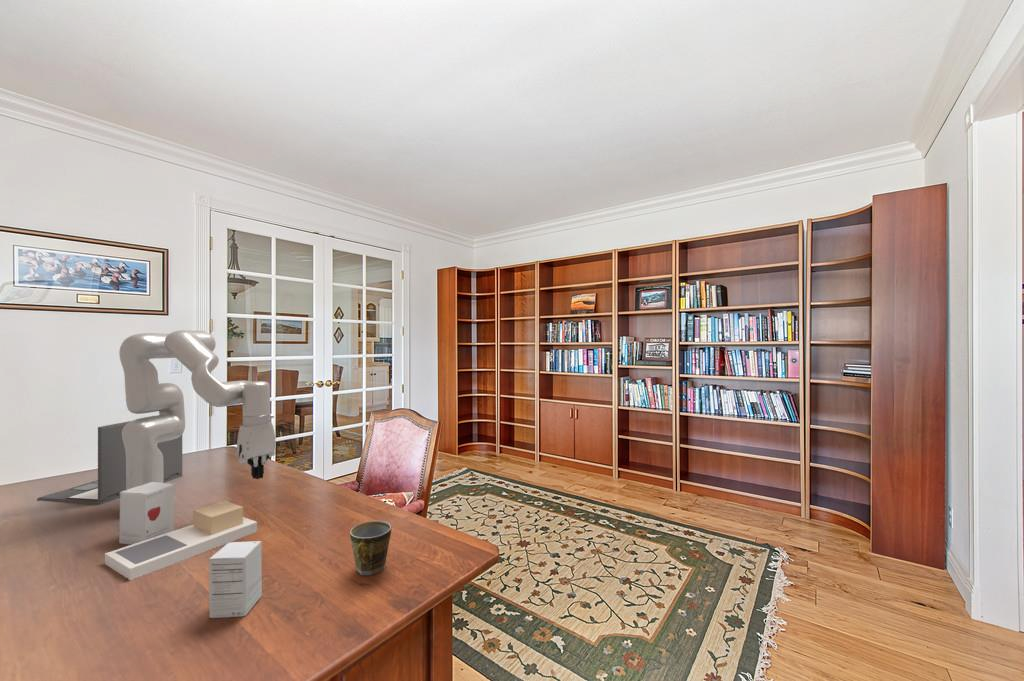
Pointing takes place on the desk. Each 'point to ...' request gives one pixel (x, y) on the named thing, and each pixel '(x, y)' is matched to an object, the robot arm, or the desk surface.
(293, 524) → the desk surface
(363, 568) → the ceramic cup
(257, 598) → the supplement box
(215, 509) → the kraft carton
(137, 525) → the supplement box
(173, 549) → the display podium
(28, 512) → the desk surface
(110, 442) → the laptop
